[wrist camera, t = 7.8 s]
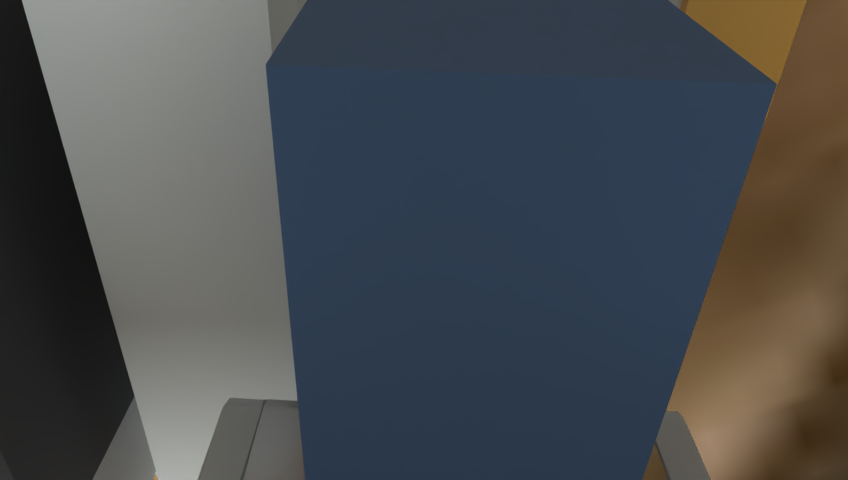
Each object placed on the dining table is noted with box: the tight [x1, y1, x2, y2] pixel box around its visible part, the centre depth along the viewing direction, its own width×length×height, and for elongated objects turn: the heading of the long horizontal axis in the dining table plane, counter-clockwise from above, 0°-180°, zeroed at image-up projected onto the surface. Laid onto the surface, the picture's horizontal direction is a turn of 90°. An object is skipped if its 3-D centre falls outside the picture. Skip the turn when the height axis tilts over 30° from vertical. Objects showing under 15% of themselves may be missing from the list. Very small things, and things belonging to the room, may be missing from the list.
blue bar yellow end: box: [266, 0, 777, 480], centre depth 9 cm, size 12×3×4 cm, turn 178°
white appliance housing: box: [22, 0, 807, 480], centre depth 12 cm, size 13×16×3 cm
